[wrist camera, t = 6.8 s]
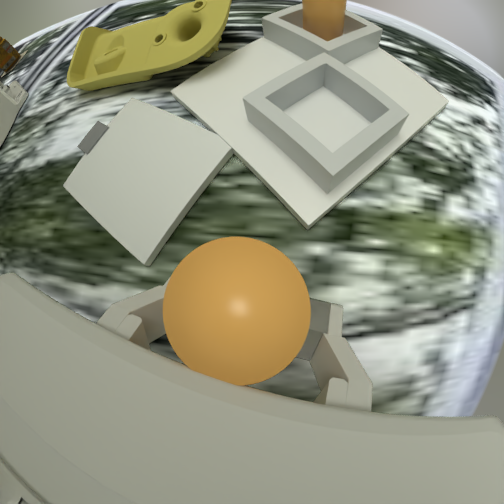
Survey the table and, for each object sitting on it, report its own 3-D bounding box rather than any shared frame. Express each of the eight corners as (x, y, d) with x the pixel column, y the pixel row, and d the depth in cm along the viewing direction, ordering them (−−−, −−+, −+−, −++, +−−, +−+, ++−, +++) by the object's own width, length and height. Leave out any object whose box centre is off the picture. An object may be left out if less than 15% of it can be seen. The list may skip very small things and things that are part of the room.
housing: (174, 98, 20) (120, 2, 10) (318, 21, 21) (318, -60, 10) (307, 230, 17) (332, 112, 6) (444, 107, 17) (493, 23, 6)
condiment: (16, 57, 36) (-5, 36, 24) (28, 50, 34) (6, 26, 22) (1, 77, 35) (-22, 56, 23) (12, 71, 33) (-13, 47, 21)
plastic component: (62, 90, 21) (86, 19, 18) (105, 99, 28) (123, 36, 25) (213, 63, 16) (239, -26, 13) (246, 92, 23) (263, 14, 20)
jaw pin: (223, 304, 16) (138, 298, 7) (269, 266, 16) (243, 207, 7) (261, 351, 16) (224, 412, 6) (308, 312, 16) (342, 320, 6)
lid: (62, 182, 20) (55, 178, 19) (127, 99, 21) (122, 93, 20) (149, 266, 17) (142, 264, 17) (236, 149, 18) (234, 141, 17)
